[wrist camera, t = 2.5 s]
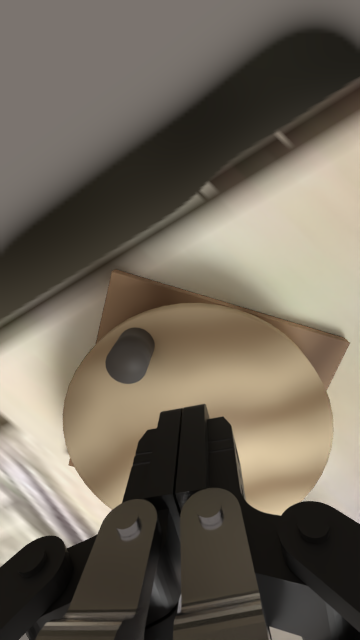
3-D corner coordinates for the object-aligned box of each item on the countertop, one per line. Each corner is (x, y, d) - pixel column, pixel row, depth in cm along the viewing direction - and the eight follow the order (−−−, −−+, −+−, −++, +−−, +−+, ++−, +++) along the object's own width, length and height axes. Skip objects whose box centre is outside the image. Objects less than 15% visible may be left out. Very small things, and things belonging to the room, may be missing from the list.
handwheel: (364, 474, 26) (396, 527, 21) (150, 548, 30) (141, 605, 25) (257, 251, 21) (271, 262, 17) (21, 374, 25) (-17, 408, 21)
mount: (344, 337, 25) (360, 352, 23) (260, 510, 31) (265, 537, 29) (115, 269, 25) (105, 276, 22) (72, 457, 31) (60, 479, 28)
